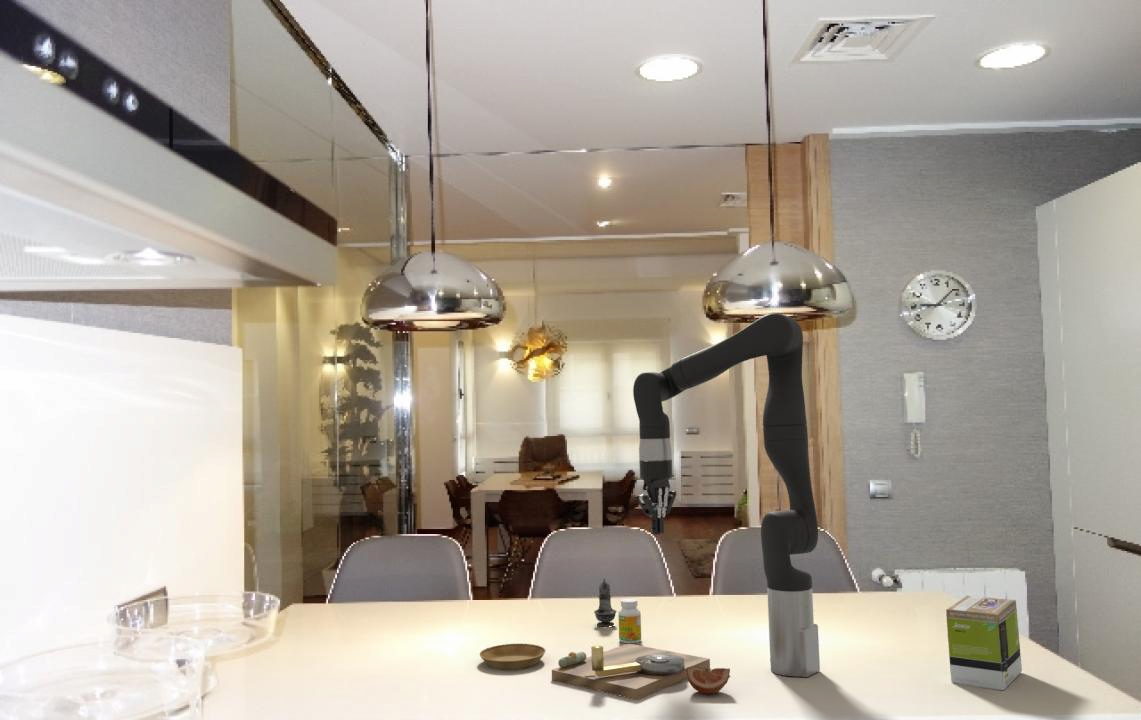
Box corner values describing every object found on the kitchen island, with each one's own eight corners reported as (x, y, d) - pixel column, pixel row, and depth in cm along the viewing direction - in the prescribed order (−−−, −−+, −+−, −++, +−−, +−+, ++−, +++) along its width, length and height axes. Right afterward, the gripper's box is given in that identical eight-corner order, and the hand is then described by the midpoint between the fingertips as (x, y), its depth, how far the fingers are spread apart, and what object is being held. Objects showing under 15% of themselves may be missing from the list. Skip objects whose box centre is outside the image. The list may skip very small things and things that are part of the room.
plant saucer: (486, 676, 187) (485, 663, 188) (474, 658, 202) (474, 646, 202) (553, 668, 191) (552, 656, 192) (537, 652, 206) (537, 640, 206)
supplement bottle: (615, 642, 211) (614, 601, 212) (624, 637, 216) (623, 597, 217) (636, 644, 209) (634, 603, 209) (644, 639, 214) (643, 598, 214)
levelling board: (710, 668, 188) (709, 646, 188) (636, 699, 168) (635, 675, 168) (628, 652, 202) (627, 632, 202) (551, 679, 183) (551, 657, 183)
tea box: (970, 665, 185) (966, 593, 186) (1023, 673, 178) (1018, 599, 179) (949, 683, 173) (945, 607, 174) (1004, 692, 167) (999, 613, 168)
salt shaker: (617, 622, 232) (616, 576, 233) (616, 628, 226) (614, 580, 227) (595, 622, 232) (593, 576, 233) (593, 628, 226) (592, 580, 227)
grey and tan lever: (669, 658, 188) (668, 630, 188) (693, 670, 178) (692, 641, 179) (582, 671, 180) (582, 642, 180) (603, 684, 171) (602, 653, 171)
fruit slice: (730, 689, 173) (729, 663, 174) (731, 699, 167) (730, 673, 167) (688, 688, 175) (687, 662, 175) (686, 698, 168) (685, 672, 169)
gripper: (659, 456, 211) (661, 529, 209) (625, 459, 201) (627, 536, 199) (685, 457, 206) (688, 531, 204) (651, 460, 196) (654, 538, 195)
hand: (658, 534), depth 202 cm, fingers closed
